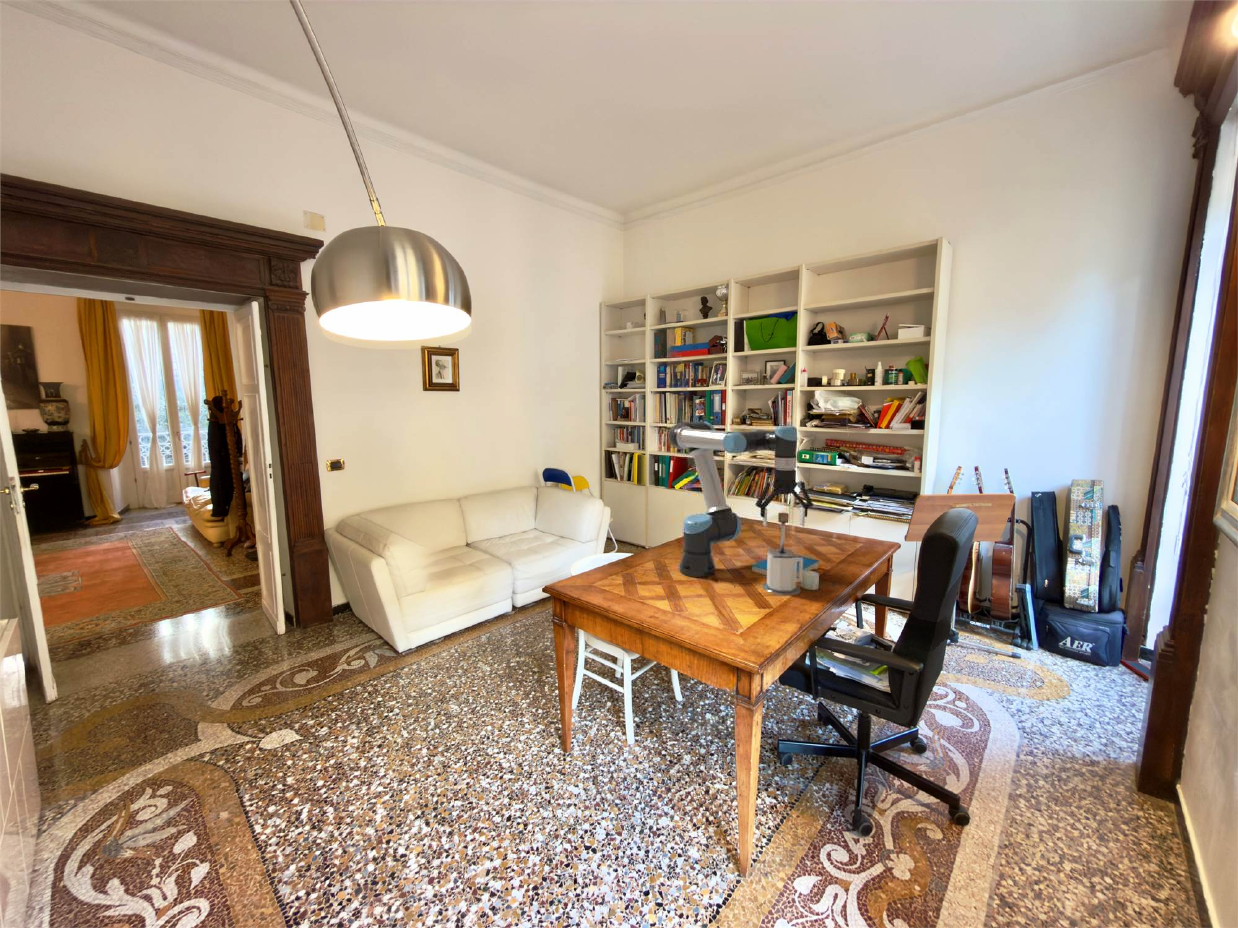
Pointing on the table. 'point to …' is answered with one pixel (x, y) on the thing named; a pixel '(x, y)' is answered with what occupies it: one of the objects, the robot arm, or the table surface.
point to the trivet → (781, 593)
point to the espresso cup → (810, 580)
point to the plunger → (783, 527)
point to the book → (807, 565)
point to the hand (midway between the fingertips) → (783, 525)
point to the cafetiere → (783, 570)
